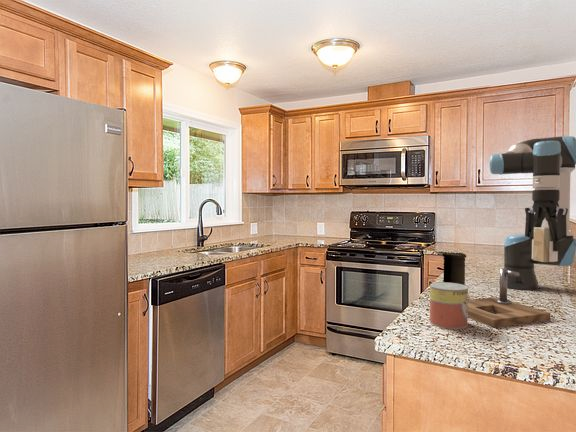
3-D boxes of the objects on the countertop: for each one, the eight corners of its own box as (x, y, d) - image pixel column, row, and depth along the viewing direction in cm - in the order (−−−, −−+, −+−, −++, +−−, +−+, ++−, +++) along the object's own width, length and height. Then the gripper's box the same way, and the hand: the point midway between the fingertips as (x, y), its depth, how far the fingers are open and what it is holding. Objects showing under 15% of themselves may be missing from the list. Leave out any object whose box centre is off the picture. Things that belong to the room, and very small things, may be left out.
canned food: (464, 331, 121) (465, 291, 121) (425, 325, 127) (426, 287, 127) (470, 321, 131) (470, 284, 130) (433, 316, 137) (434, 280, 136)
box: (532, 260, 135) (532, 227, 135) (544, 260, 136) (544, 227, 136) (544, 262, 130) (544, 227, 130) (556, 262, 131) (556, 227, 130)
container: (465, 297, 161) (465, 252, 160) (467, 303, 153) (468, 255, 152) (441, 296, 164) (441, 251, 163) (441, 301, 156) (442, 254, 155)
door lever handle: (503, 300, 147) (503, 267, 147) (523, 306, 139) (523, 271, 139) (492, 301, 146) (492, 268, 145) (511, 307, 138) (512, 272, 137)
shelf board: (496, 303, 152) (496, 297, 152) (550, 320, 131) (550, 312, 131) (445, 308, 145) (445, 302, 145) (493, 327, 124) (493, 319, 124)
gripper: (512, 189, 140) (511, 256, 141) (564, 188, 122) (562, 264, 123) (529, 189, 142) (528, 255, 143) (582, 188, 124) (580, 263, 125)
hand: (544, 259), depth 133 cm, fingers closed on box, 6 cm apart
